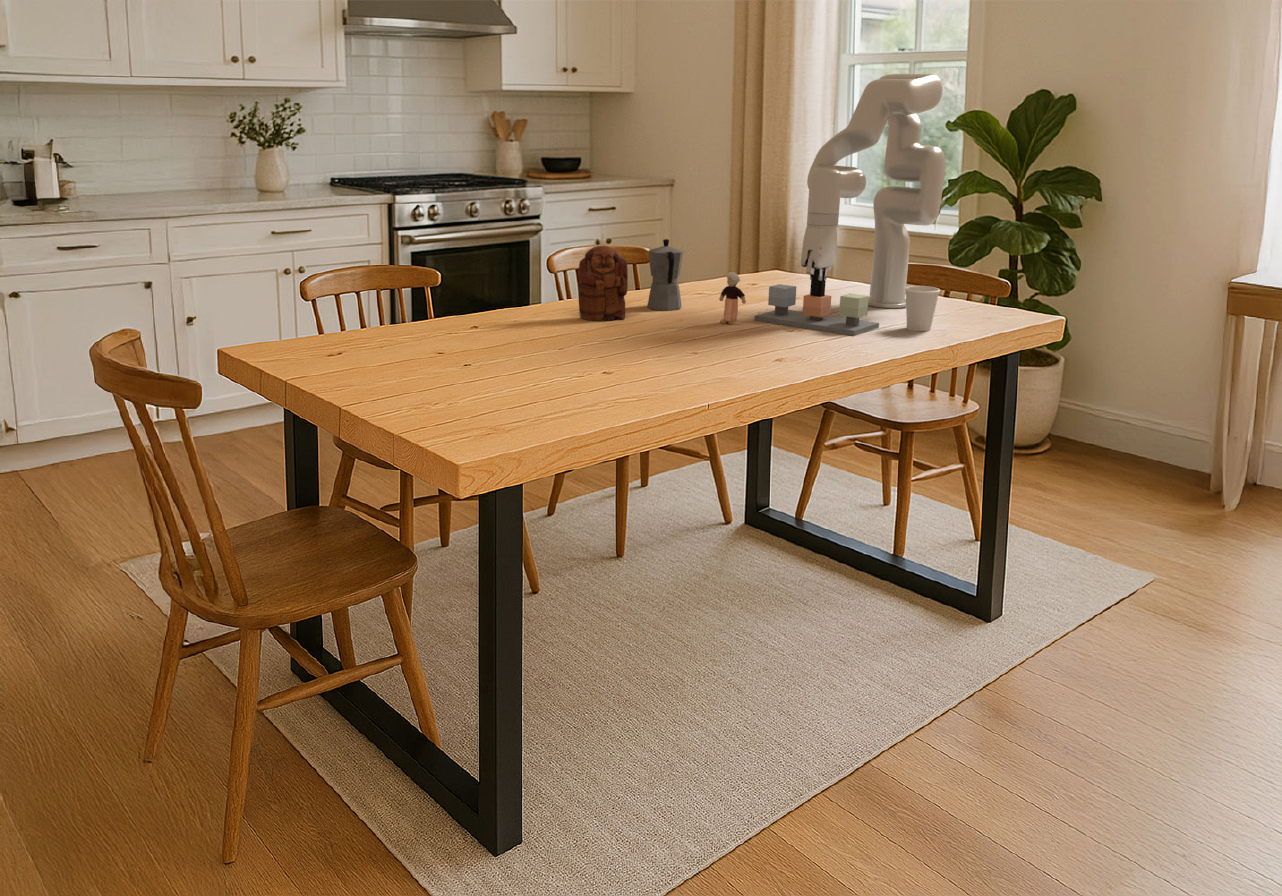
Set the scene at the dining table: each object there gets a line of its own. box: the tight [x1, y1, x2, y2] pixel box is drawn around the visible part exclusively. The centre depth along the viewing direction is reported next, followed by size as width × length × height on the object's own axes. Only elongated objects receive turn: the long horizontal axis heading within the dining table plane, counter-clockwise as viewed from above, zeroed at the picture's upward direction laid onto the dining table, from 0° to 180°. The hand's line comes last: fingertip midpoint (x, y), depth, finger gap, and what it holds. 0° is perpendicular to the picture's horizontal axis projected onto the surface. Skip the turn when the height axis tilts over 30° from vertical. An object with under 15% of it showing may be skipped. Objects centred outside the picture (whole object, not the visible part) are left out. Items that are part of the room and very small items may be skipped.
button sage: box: [838, 293, 870, 318], centre depth 263 cm, size 5×5×5 cm
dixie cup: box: [905, 285, 941, 332], centre depth 266 cm, size 8×8×10 cm
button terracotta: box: [802, 293, 832, 317], centre depth 269 cm, size 5×5×5 cm
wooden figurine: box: [578, 245, 629, 322], centre depth 269 cm, size 12×6×18 cm, turn 107°
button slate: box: [767, 283, 797, 308], centre depth 275 cm, size 5×5×5 cm
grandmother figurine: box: [719, 271, 747, 325], centre depth 268 cm, size 8×4×13 cm, turn 62°
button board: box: [753, 306, 880, 336], centre depth 270 cm, size 13×28×3 cm, turn 52°
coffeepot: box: [646, 238, 684, 312], centre depth 284 cm, size 15×9×18 cm, turn 9°
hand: (817, 295), depth 269 cm, fingers closed
